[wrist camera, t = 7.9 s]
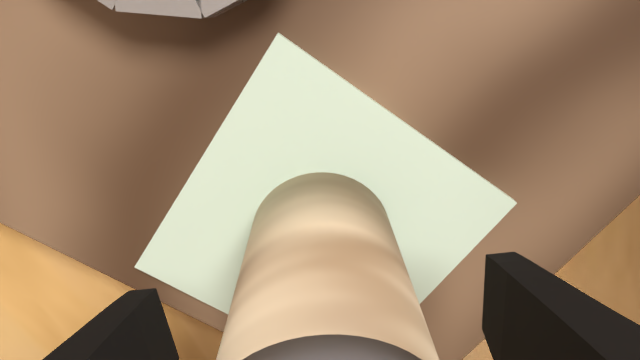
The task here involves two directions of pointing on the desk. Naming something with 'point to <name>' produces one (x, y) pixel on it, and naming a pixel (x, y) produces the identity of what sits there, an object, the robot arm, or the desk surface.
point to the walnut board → (359, 70)
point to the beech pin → (324, 280)
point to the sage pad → (310, 157)
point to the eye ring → (174, 7)
